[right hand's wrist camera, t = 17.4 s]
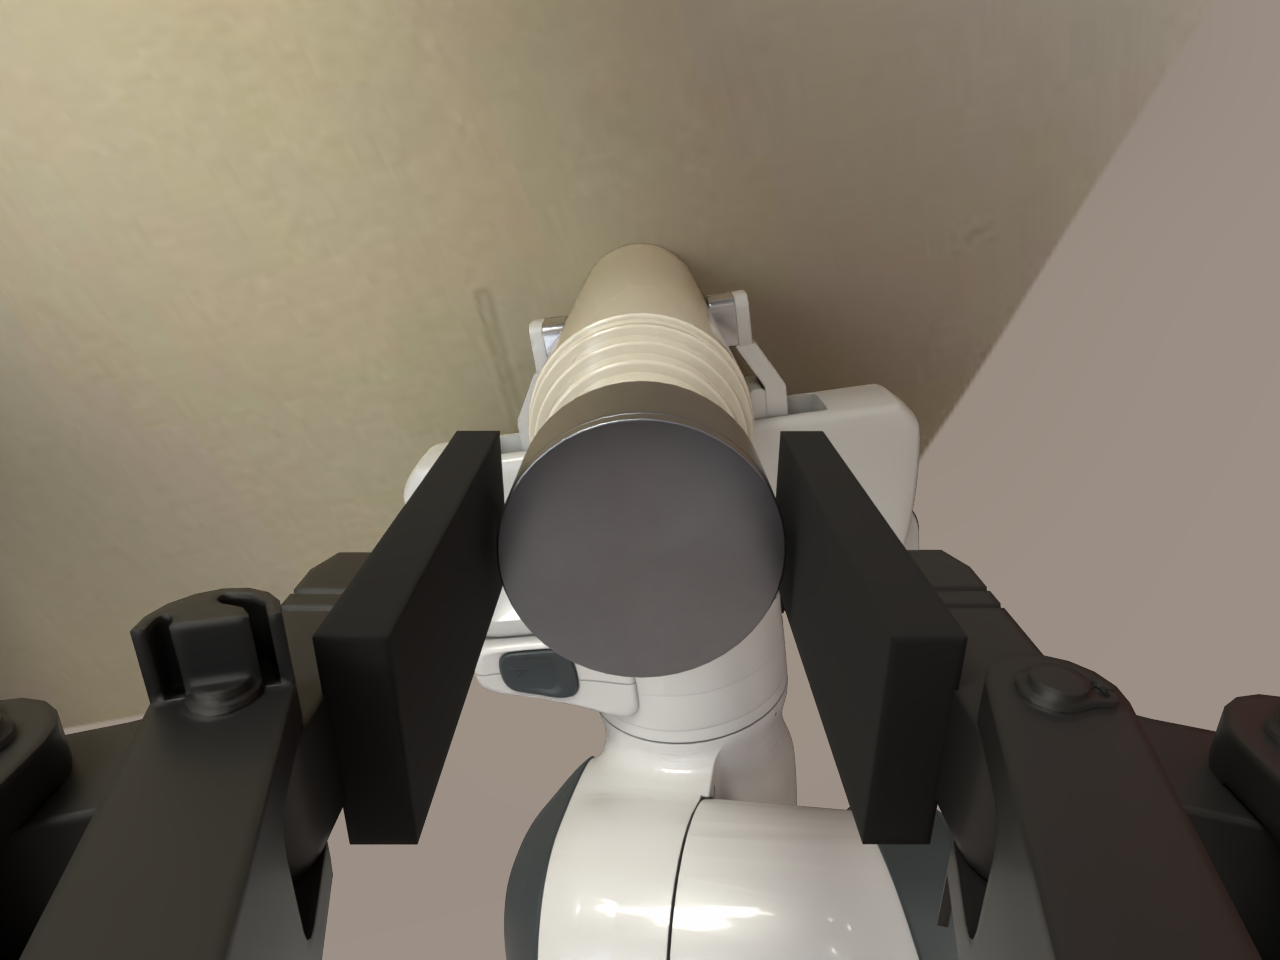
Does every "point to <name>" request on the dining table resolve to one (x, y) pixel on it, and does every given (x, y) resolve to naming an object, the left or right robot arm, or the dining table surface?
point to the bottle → (640, 338)
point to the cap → (641, 532)
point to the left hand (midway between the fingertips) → (635, 306)
